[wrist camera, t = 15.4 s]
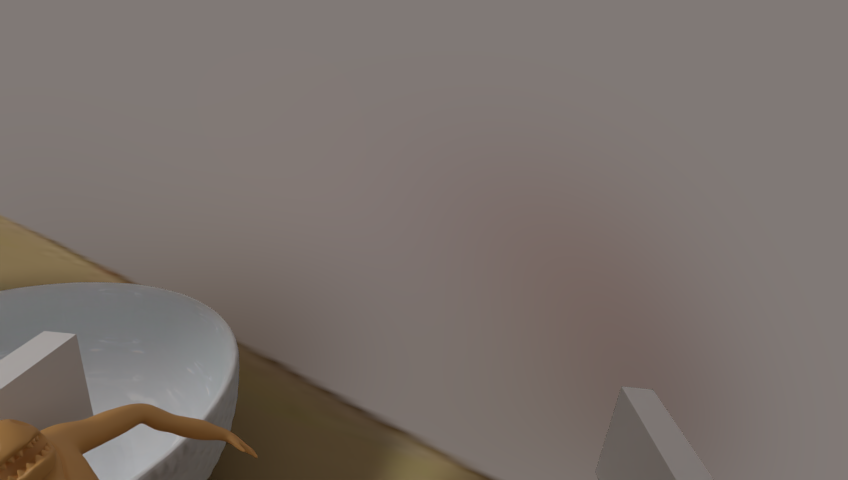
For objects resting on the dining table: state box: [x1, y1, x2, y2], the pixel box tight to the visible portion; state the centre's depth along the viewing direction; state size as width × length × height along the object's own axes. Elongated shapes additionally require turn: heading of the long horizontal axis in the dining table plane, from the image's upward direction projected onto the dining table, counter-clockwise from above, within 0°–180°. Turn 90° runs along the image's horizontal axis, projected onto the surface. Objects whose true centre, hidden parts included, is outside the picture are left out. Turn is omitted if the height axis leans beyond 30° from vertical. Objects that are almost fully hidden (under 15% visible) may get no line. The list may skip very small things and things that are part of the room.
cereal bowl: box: [0, 282, 239, 480], centre depth 18 cm, size 17×17×7 cm
